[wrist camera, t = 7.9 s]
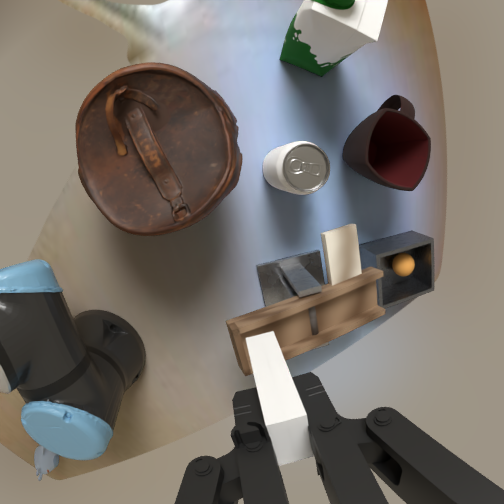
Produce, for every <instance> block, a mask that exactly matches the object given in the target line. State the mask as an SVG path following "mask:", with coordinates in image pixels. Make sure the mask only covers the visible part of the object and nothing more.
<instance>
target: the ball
mask: <svg viewBox="0 0 504 504" xmlns="http://www.w3.org/2000/svg"><path fill="white" fill-rule="evenodd" d="M414 266H415V263H414V259H413V258H412V256H411V255H409V254H407V253H400V254H398V255H396V256H395V258H394V259H393V262H392V267H393V270H394V272H395V273H396V274H397V275H399V276H408V275H410V274H411V273H412V271H413V270H414Z"/></svg>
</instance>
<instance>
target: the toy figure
mask: <svg viewBox="0 0 504 504" xmlns="http://www.w3.org/2000/svg"><path fill="white" fill-rule="evenodd" d="M34 462H35V468H36V470H37V472H36V474H37V476H38V475H39V473H40V475H39V478H38V480H39V481H40V480H41V479H42V474H47V473H49V472H51V471H52V470H53V469H54V468H55V467H57V465H58V463H59V456H58V454H55V453H53V452H51V451H49V450H47V449H46V448H44V447H43V446H41V445H40V446H38V447H37V448H36V450H35V455H34Z"/></svg>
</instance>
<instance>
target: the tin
mask: <svg viewBox="0 0 504 504" xmlns="http://www.w3.org/2000/svg"><path fill="white" fill-rule="evenodd" d="M359 253H360V262H361V270H363V269H366V268H368V267H373V268H376V269H379V270H382V271H383V277H381V278H379V279H377V280H376V288H377V305H378V306H380V307H382V308H384V309H385V308H388V307H391V306H393V305H396V304H399V303H402V302H405V301H407V300H410V299H413V298H415V297H418V296H421V295H423V294H426V293H429V292H431V291H434V240H433V238H431V237H428V236H425V235H423V234H420V233H417V232H414V231H408V232H405V233H401V234H397V235H394V236H390V237H386V238H382V239H379V240H375V241H371V242H367V243H363V244H360V245H359ZM400 253H407V254H409V255H411V256H412V258H413V259H414V263H415V266H414V270H413V271H412V273H411V274H410V275H408V276H399V275H397V274H396V273H395V272H394V270H393V267H392V262H393V259H394V258H395V256H396V255H398V254H400Z"/></svg>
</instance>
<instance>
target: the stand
mask: <svg viewBox="0 0 504 504" xmlns="http://www.w3.org/2000/svg"><path fill="white" fill-rule="evenodd" d="M257 270H258V274H259V279H260V283H261V288H262V292H263V297H264V301H265V306H266V307H267V306H270V305H273V304H275V303H278V302H281V301H283V300H286V299H289V298H292V297H294V296H297V295H298V296H299V297H303V296H307V295H310V294H314V293H318V292H321V291H322V288H321V286H323V285H325V284H324V277H323V270H322V263H321V256H320V251H319V250H315V251H311V252H307V253H303V254H299V255H295V256H291V257H287V258H283V259H279V260H275V261H271V262H267V263H263V264H259V265H257ZM326 345H329V342H327V343H325V344H322V345H320V346H318V347H316V348H320V347H323V346H326ZM316 348H313V349H316ZM313 349H311V350H313Z"/></svg>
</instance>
